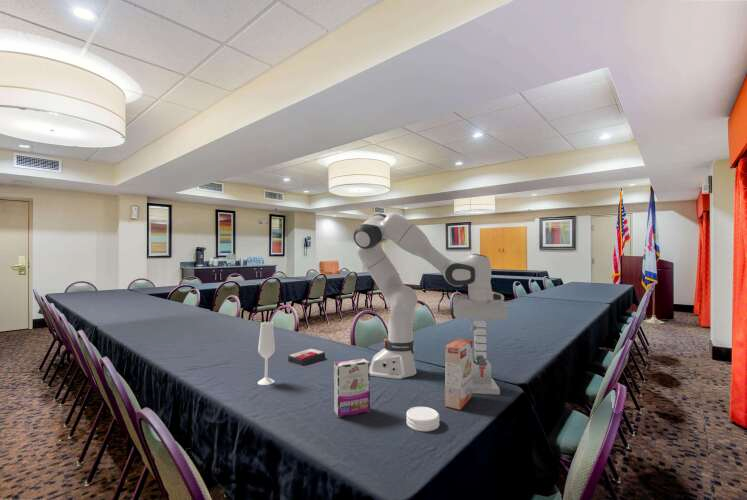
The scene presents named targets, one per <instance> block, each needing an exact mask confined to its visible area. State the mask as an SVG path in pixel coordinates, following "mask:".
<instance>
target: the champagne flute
mask: <svg viewBox="0 0 747 500" xmlns="http://www.w3.org/2000/svg"><path fill="white" fill-rule="evenodd" d="M274 333H275V331H274V322H271V321H263V322H261V323H260V329H259V339H258V345H257V347H258V348H257V352H258V354H259V355H260V356H261V357H262V358H263V359H264V377H263V378H262V379H260V380H258V381H257V384H258V385H260V386H264V385H265V386H266V385H267V386H268V385H271V384H274V383H275V380H274V379H272V378H270V377H269V375H268V374H269V373H268V372H269V358H270V357H271V356H272V355H273V354H274V352H275V351H276V346H275V345H276V343H275V334H274Z"/></svg>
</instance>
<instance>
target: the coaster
mask: <svg viewBox="0 0 747 500" xmlns="http://www.w3.org/2000/svg"><path fill="white" fill-rule="evenodd" d="M405 416H406V420H405V421H406V425H407V426H408V427H409V428H410V429H412V430H414V431H417V432H432V431H435V430H437V429H438V428H439V427H440V413H439V412H438V411H437V410H435V409H434V408H431V407H429V406H428V407H427V406H413V407H410V408H409V409H408V410H407V411H406V414H405Z"/></svg>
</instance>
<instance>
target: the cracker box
mask: <svg viewBox="0 0 747 500" xmlns="http://www.w3.org/2000/svg"><path fill="white" fill-rule="evenodd" d="M473 347H474V340H471V339H466V338H465V339H464V338H456V339H455V340H453V341H451V342H450V343H447V344H446V345H445V353H444V355H445V356H444V357H445V362H444V363H445V365H444V367H445V368H444V372H445V373H444V374H445V375H444V376H445V378H444V383H445V385H444V386H445V387H444V407H445V408H449V409H454V410H459V411H461V410H462V409H463V408H464V407H465V405H467V403H468V402H469V401H470V400H471V399H472V398H473V393H472V360H473V351H474V348H473Z"/></svg>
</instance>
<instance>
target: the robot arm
mask: <svg viewBox="0 0 747 500" xmlns="http://www.w3.org/2000/svg"><path fill="white" fill-rule="evenodd" d="M385 239H386V240H390V241H391V242H392V243H394V244H395V245H396V246H398V247H399V248H401V249H402V250H404V251H405V252H407V253H409V254H411V255H414V256H417V257H420V258H421V259H424V260H425V261H426V262H428V263H429V264H430V265H432V266H433V267H434V268H435V269H437V270H438V271H439V272H440V273H441V275H442V277H443V278H444V281H445V282H446V283H448V284H449V285H451V286H453V287H463V286H467V287H468V288H467V291H468V292H467V293H468V294H457V295H455V296H453V298H452V304H453V316H454V318H456V319H466V320H467V322H468V324H469V326H470V331H474V330H475V325H474V324H473V323H472V321H473V319H476V320H480V319H481V320H487V323H486V332H487V331H490V329H491V328H490V326H491V325H492V324H493V320H506V319H507V318H508V308H507V304H506V302H505V300H504V299H505V296H504V295H503V294H502V293H499V292H497V291H493V290H492V284H491V283H492V282H491V279H492V265H491V264H492V263H491V260H490V258H489V257H488V256H486V255H484V254H478V253H471V254H469V255H468V256H467V257H464V258H462V259H461V260H458V261H452V260H451V259H449V258H448V257H446V256H445V255H444V254H442V253H441V252H440V251H438V250H437V249H436V248H435V247H434V246H433V245H432V243H431V242H430V240H429V238H428V237H427V235H426V234H425V233H424V232H423V231H422V229H420V228H419V227H418V226H417V225H416V224H415V223H413V222H412V221H410V220H409V219H407V218H406V217H404V216H402V215H400V214H398V213H395V212H392V213H389V214H387V215H386V214H383V213H378V214H377V213H376V214H373V215H372V216H370V217H369V218H367V219H366V220H364V222H362V223H361V224H359V225H358V226H357V227H356V228H355V230H354V233H353V241H354V242H355V244H356V246H357V248H356V253H357V256H358V257H359V259H360V261H361V263H362V266H363V267H364V268H365V270H366V271H367V272H368V274H369V275H370V277H371V278H372V279H373V281H374V283H375V284H376V286H377V287H378V289H379V291H380V293H381V294H382V296H383V297H384V299H385V301H386V302H387V304H388V305H390V314H389V319H388V328H387V329H388V330H387V331H388V334H387V336H388V337H387V338H385V339H384V340H383V348H382V349H381V350H379V351H378V352H377V353H376V354H374V355H373V357H372V359H371V362H370V376H371V377H378V378H387V379H396V380H402V379H405V378H408V377H413V376H415V375H416V374H417V373H418V371H417V369H416V365H415V357H414V352H415V341H414V319H415V312H416V306H417V304H418V295H417V293H416V292H415V290H414V289H413V288H412V287H410V286H407V285H405V284H404V282H403V280H402V279H401V277H400V275H399V273H398V271H397V268H396V267H395V265H394V263H392V261H391V259H390V258H389V257H388V255H387V254H386V252H385V251H384V250H383V248H382V241H385Z"/></svg>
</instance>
